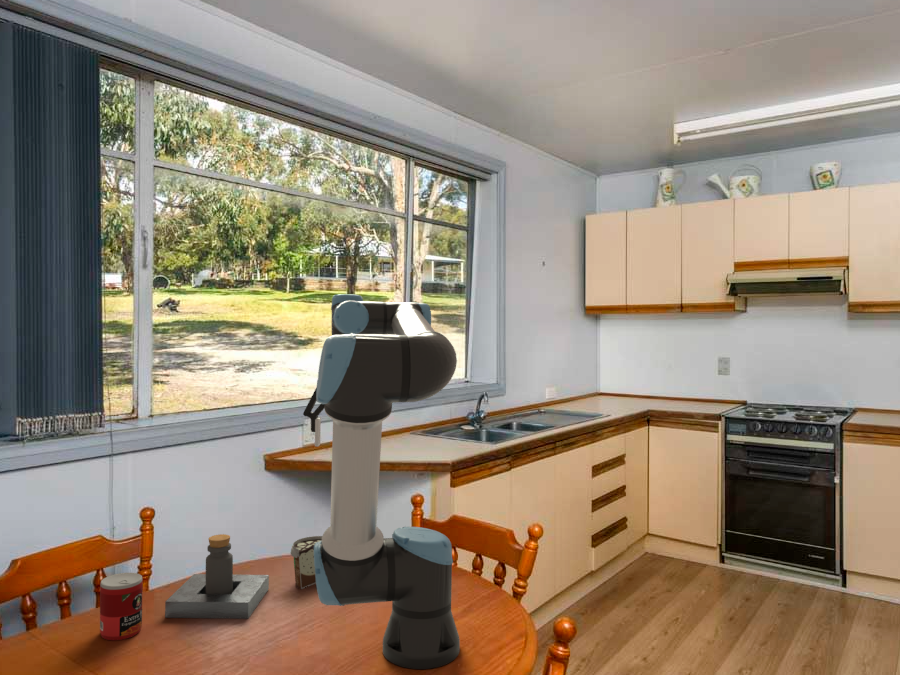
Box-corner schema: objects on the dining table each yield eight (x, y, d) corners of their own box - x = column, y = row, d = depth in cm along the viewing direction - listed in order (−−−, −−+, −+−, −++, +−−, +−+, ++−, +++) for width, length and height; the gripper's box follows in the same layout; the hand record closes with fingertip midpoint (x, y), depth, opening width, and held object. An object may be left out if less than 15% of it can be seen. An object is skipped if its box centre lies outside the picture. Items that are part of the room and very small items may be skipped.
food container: (317, 570, 170) (317, 532, 170) (333, 576, 166) (334, 537, 166) (279, 585, 160) (279, 544, 160) (296, 591, 156) (296, 549, 156)
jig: (248, 618, 141) (248, 602, 141) (165, 617, 141) (165, 601, 141) (268, 589, 157) (268, 574, 157) (193, 588, 157) (194, 574, 157)
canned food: (125, 643, 129) (125, 588, 129) (90, 638, 131) (91, 584, 131) (150, 626, 137) (151, 574, 137) (117, 622, 138) (117, 570, 138)
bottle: (225, 595, 153) (225, 531, 153) (237, 602, 149) (237, 537, 149) (201, 602, 149) (201, 537, 149) (212, 610, 145) (212, 543, 145)
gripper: (399, 358, 161) (398, 443, 162) (298, 357, 161) (297, 442, 161) (397, 359, 154) (395, 449, 154) (291, 358, 154) (290, 447, 154)
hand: (345, 446), depth 158 cm, fingers open, 13 cm apart
